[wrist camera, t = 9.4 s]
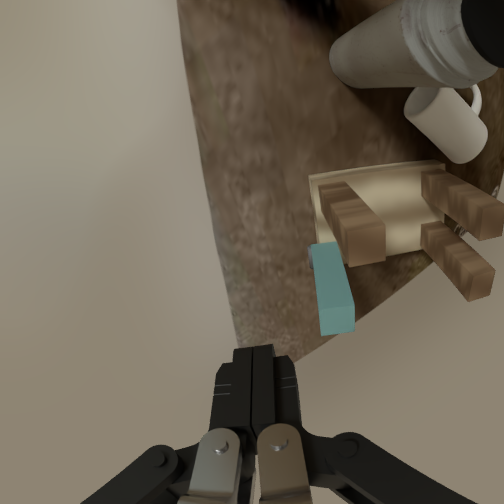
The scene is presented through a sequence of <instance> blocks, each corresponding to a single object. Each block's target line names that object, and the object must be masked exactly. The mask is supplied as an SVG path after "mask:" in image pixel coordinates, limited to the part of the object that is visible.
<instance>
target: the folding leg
mask: <svg viewBox="0 0 504 504" xmlns="http://www.w3.org/2000/svg"><path fill="white" fill-rule="evenodd" d="M307 249H308V256H309V264H310V268H311V269H314V275H315V283H316V292H317V300H318V309H319V319H320V328H321V336H324V335H332V334H339V333H346V332H353V331H355V305H354V301H353V297H352V293H351V290H350V286H349V282H348V279H347V275H346V272H345V268H344V265H343V261H342V258H341V254H340V251H339V248H338V244H337V241H334V242H327V243H319V244H312V245H310V246H308V247H307Z"/></svg>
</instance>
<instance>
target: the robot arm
mask: <svg viewBox="0 0 504 504" xmlns="http://www.w3.org/2000/svg"><path fill="white" fill-rule="evenodd" d="M255 455H258V462H259V475H260V487H261V498H260V499H259V504H313V502H312V497H311V491H310V486H316V487H324V488H329V489H330V490H331V491H333V492H334V493H335V494H337V495H338V496H339V497H341V498H342V499H343V500H345V501H346V502H347V503H348V504H477V503H475V502H473V501H471V500H469V499H467V498H466V497H464V496H462V495H460V494H458V493H456V492H454V491H452V490H450V489H449V488H447V487H445V486H443V485H442V484H440V483H438V482H436V481H434V480H433V479H431V478H429V477H427V476H426V475H424V474H422V473H421V472H419V471H417V470H416V469H414V468H412V467H411V466H409V465H407V464H406V463H404V462H403V461H401V460H399V459H398V458H396V457H395V456H393V455H391V454H390V453H388V452H387V451H385V450H384V449H382V448H380V447H379V446H377V445H376V444H374V443H373V442H371V441H370V440H368V439H367V438H365V437H364V436H362V435H360V434H358V433H354V432H346V433H341V434H339V435H336V436H335V437H333V438H329V437H320V436H315V435H312V434H310V433H308V432H307V431H306V430H305V429H304V428H303V427H302V421H301V410H300V401H299V391H298V384H297V378H296V372H295V367H294V364H293V362H292V361H291V359H290V358H289V357H288V355H285V356H279V357H276V355H275V351H274V346H273V344H268V345H261V346H254V348H253V347H246V348H238V349H234V351H233V362H231V363H223V364H222V365H221V367H220V368H219V370H218V372H217V373H216V379H215V388H214V396H213V403H212V410H211V418H210V426H209V430H208V432H207V433H206V434H205V435H204V436H203V437H202V438H201V440H200V442H198V443H197V444H195V445H192V446H189V447H186V448H182V449H179V450H175V451H174V450H173V449H172V448H171V447H169V446H166V445H156V446H153V447H151V448H149V449H148V450H147V451H145V452H144V453H143V454H142V455H141V456H139V457H138V458H137V459H136V460H135V461H134V462H132V463H131V464H130V465H129V466H128V467H126V468H125V469H124V470H123V471H121V472H120V473H119V474H118V475H116V476H115V477H114V478H113V479H111V480H110V481H109V482H108V483H106V484H105V485H104V486H103V487H101V488H100V489H99V490H97V491H96V492H95V493H94V494H92V495H91V496H90V497H88V498H87V499H86V500H84V501H83V502H82V503H80V504H253V499H254V489H255V480H256V468H255Z"/></svg>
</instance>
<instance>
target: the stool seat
mask: <svg viewBox="0 0 504 504" xmlns="http://www.w3.org/2000/svg"><path fill="white" fill-rule="evenodd" d="M308 178H309V184H310V191H311V198H312V205H313V212H314V220H315V228H316V236H317V244H319V243H327V242H334V241H337V244H338V248H339V251H340V254H341V258H342V261H343V264H348V266H349V267H354V266H360V265H365V264H370V263H376V262H381V261H386V256H390V255H396V254H401V253H406V252H411V251H416V250H421V249H424V251H425V252H426V253H427V254H428V255H429V256H430V257H431V258H432V259H433V261H434V262H435V263H436V264H437V265H438V266H439V267H440V269H441V270H442V271H443V272H444V273H445V274H446V276H447V277H448V278H449V279H450V280H451V282H452V283H453V284H454V285H455V286H456V288H457V289H458V290H459V291H460V292H461V294H462V295H463V296H464V297H465V299H466V300H467V301H468V302H470V301H473V300H476V299H479V298H483V297H486V296H489V295H490V292H491V288H492V283H493V279H494V275H495V269H494V268H493V267H492V266H491V265H489V263H488V262H487V261H486V260H484V259H483V258H482V257H481V256H480V255H479V254H478V253H477V252H476V251H475V250H474V249H472V247H471V246H469V245H468V244H467V243H466V242H465V241H464V240H463V239H462V238H460V237H459V236H458V235H457V234H456V233H455V232H454V231H452V230H451V229H450V228H449V227H448V226H446V225H445V224H444V214H447V215H448V216H449V217H451V218H452V219H453V220H454V221H456V222H457V223H458V224H459V225H461V226H462V227H463V228H464V229H466V230H467V231H468V232H469V233H470V234H472V235H473V236H474V237H475V238H477V239H478V240H479V241H481V240H486V239H490V238H495V237H499V236H502V231H503V224H504V204H503V203H502V202H500V201H498V200H497V199H495V198H494V197H492V196H490V195H488V194H487V193H485V192H483V191H482V190H480V189H478V188H476V187H475V186H473V185H471V184H469V183H467V182H465V181H464V180H462V179H460V178H458V177H456V176H454V175H452V174H450V173H448V172H446V171H445V164H444V163H442V162H440V161H438V160H436V159H432V160H422V161H412V162H402V163H393V164H385V165H377V166H369V167H361V168H354V169H346V170H339V171H332V172H326V173H319V174H313V175H308Z"/></svg>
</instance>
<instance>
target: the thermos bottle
mask: <svg viewBox="0 0 504 504" xmlns="http://www.w3.org/2000/svg"><path fill="white" fill-rule="evenodd" d="M329 60H330V65H331V67H332V70H333V72H334V73H335V75H336V76H337V77H338V78H339V79H340V80H341V81H342V82H344V83H345V84H347V85H349V86H351V87H354V88H361V89H363V88H384V87H439V88H462V89H463V88H468V87H471V86H473V85H475V84H477V83H478V82H479V81H482V80H483V79H486V78H488V77H490V76H492V75H493V74H494V73H495V72H496V71H497V69H498V67H499V68H504V0H397V1H395V2H393V3H392V4H390V5H388V6H387V7H385V8H383V9H382V10H380V11H378V12H377V13H375V14H374V15H372V16H371V17H369V18H368V19H366V20H364V21H363V22H361V23H360V24H358V25H357V26H355V27H354V28H353V29H351V30H350V31H348V32H347V33H345V34H344V35H342V36H341V37H340V38H338V39H337V40H336V41H335V42H334V44H333V45H332V47H331V49H330V54H329Z"/></svg>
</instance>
